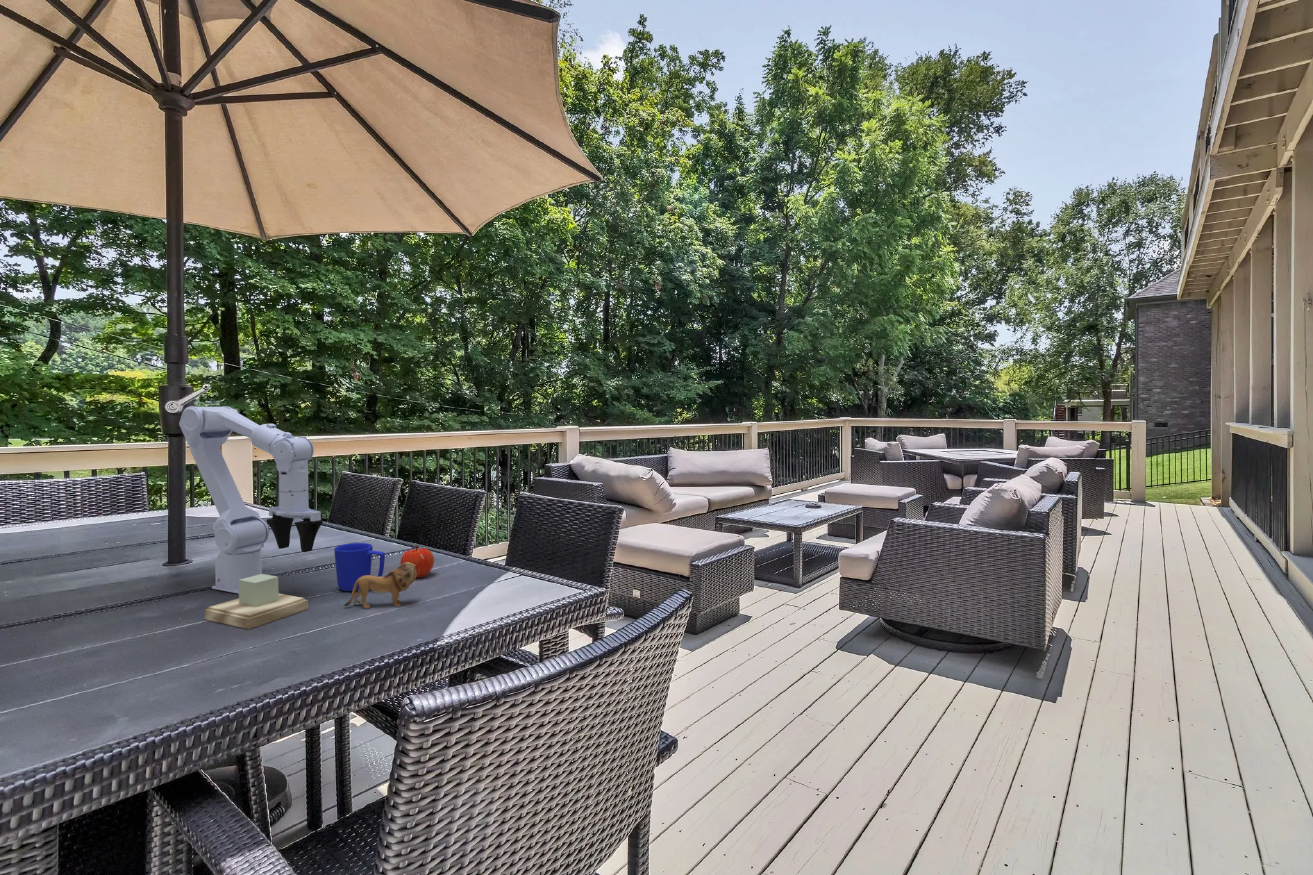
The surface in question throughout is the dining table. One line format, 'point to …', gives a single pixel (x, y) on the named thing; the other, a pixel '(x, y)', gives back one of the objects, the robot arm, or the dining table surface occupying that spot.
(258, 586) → the sage cube
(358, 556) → the mug
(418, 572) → the apple
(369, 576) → the lion figurine
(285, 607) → the plinth
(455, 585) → the dining table surface
